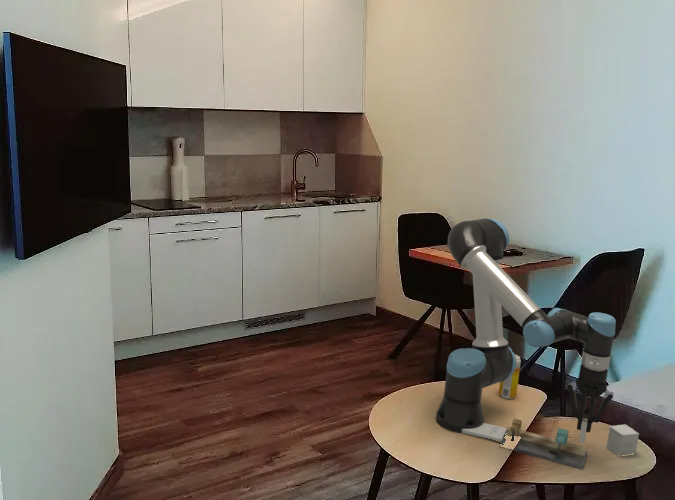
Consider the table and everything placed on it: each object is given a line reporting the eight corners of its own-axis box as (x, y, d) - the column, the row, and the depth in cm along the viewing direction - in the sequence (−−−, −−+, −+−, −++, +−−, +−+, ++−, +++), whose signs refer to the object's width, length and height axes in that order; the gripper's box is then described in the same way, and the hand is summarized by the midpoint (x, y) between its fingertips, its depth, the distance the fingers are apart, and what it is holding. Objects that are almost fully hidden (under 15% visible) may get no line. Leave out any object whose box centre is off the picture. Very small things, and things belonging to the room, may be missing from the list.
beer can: (516, 394, 246) (522, 355, 242) (514, 401, 240) (520, 361, 237) (499, 391, 248) (504, 352, 244) (497, 397, 242) (502, 357, 239)
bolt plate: (499, 446, 208) (499, 443, 208) (506, 433, 217) (507, 430, 216) (582, 469, 198) (583, 466, 198) (586, 454, 207) (587, 451, 206)
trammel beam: (503, 439, 210) (505, 424, 209) (508, 432, 215) (509, 417, 214) (582, 461, 201) (585, 445, 200) (585, 452, 206) (587, 437, 205)
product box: (605, 447, 212) (609, 425, 210) (621, 445, 214) (625, 423, 212) (619, 457, 206) (623, 435, 205) (635, 455, 208) (639, 433, 207)
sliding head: (553, 452, 204) (555, 436, 203) (556, 443, 209) (558, 428, 208) (563, 454, 203) (566, 438, 202) (566, 446, 208) (568, 430, 207)
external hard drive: (467, 423, 222) (506, 432, 217) (461, 433, 214) (501, 443, 210) (468, 418, 221) (507, 427, 216) (461, 428, 214) (502, 438, 209)
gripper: (569, 365, 198) (557, 439, 204) (617, 376, 193) (603, 452, 198) (572, 357, 205) (561, 429, 210) (619, 367, 199) (606, 441, 205)
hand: (581, 440), depth 204 cm, fingers closed
